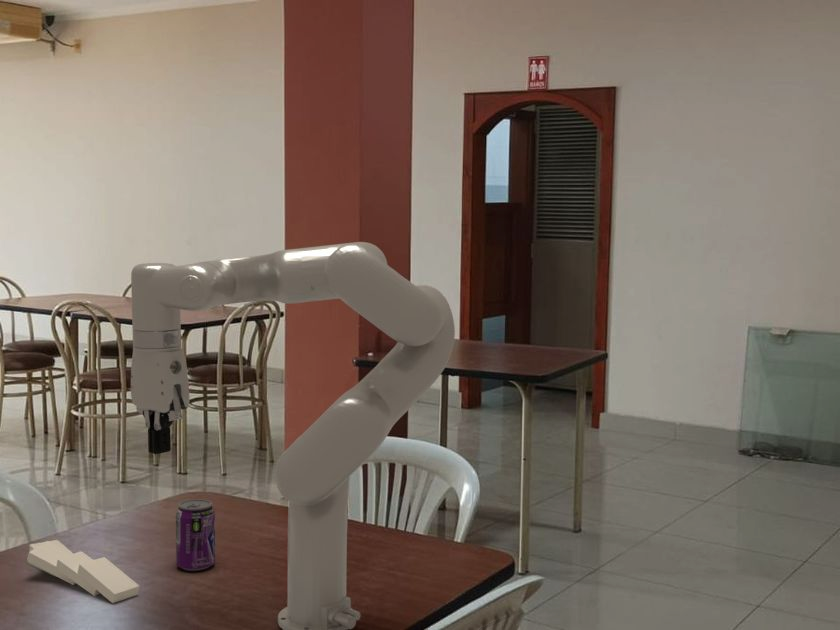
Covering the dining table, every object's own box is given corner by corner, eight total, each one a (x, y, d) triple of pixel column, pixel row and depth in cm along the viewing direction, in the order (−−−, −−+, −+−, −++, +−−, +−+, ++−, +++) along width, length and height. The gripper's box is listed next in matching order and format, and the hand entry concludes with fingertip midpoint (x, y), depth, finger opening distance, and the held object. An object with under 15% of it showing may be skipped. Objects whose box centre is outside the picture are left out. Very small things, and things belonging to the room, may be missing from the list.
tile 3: (93, 564, 185) (47, 540, 187) (75, 576, 180) (28, 552, 182) (90, 572, 186) (44, 548, 187) (73, 585, 181) (26, 560, 183)
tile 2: (119, 577, 180) (81, 551, 184) (96, 587, 176) (57, 559, 180) (117, 586, 181) (79, 559, 185) (94, 596, 176) (55, 568, 180)
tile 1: (139, 585, 176) (104, 556, 182) (114, 594, 172) (79, 564, 177) (137, 594, 177) (102, 565, 182) (112, 603, 173) (77, 573, 178)
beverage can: (205, 574, 187) (205, 510, 186) (169, 571, 188) (169, 507, 187) (221, 561, 194) (220, 499, 193) (186, 558, 195) (185, 497, 194)
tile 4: (74, 554, 188) (57, 539, 196) (45, 559, 185) (29, 544, 193) (74, 564, 188) (57, 549, 196) (46, 569, 185) (29, 553, 193)
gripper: (205, 342, 163) (207, 455, 165) (149, 334, 172) (151, 441, 174) (165, 346, 157) (168, 464, 159) (110, 338, 167) (113, 449, 169)
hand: (159, 451), depth 167 cm, fingers closed
